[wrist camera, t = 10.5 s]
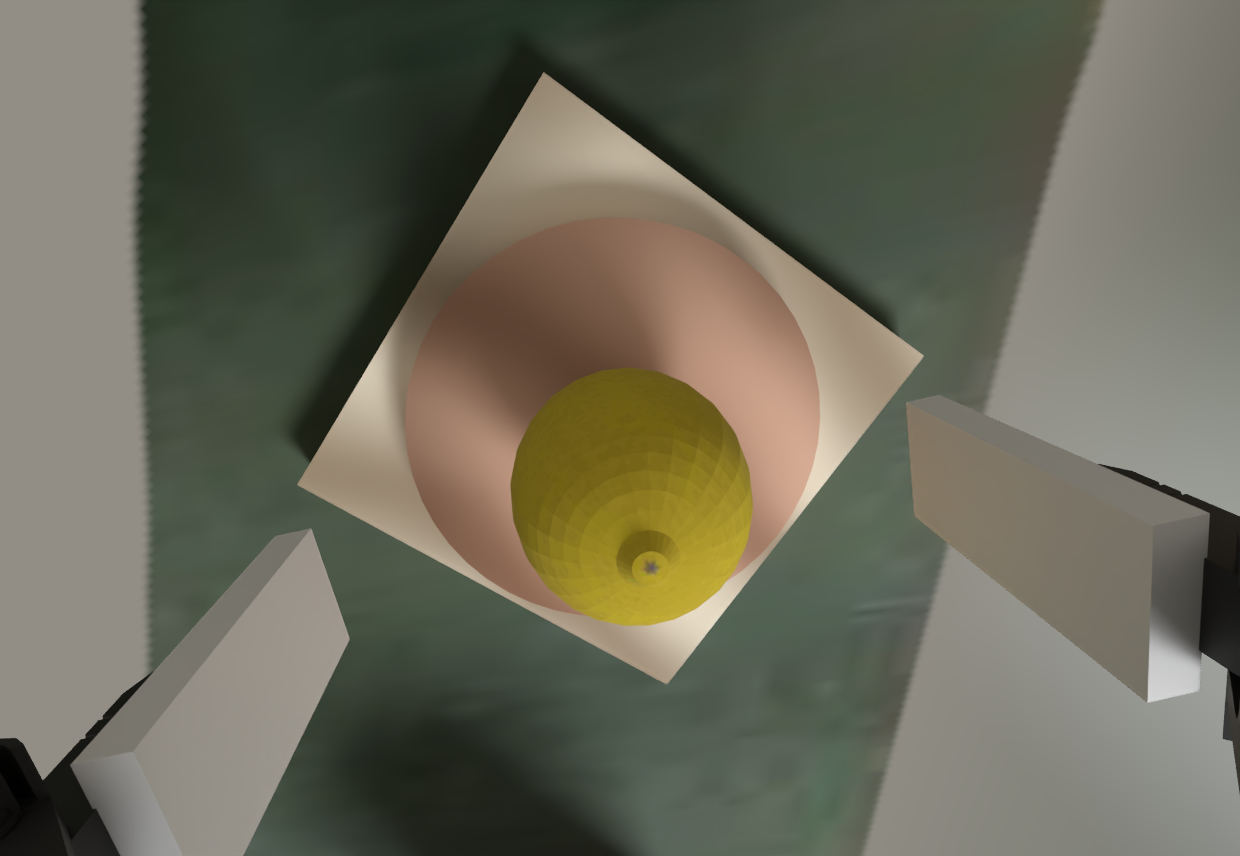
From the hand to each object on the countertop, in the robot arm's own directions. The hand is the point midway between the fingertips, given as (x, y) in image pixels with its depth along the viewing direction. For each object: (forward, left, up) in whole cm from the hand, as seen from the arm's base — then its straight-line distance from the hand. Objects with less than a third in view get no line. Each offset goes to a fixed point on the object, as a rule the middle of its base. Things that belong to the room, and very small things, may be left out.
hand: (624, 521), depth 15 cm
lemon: (0, 0, -6) cm, 6 cm away
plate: (0, 0, -8) cm, 8 cm away
